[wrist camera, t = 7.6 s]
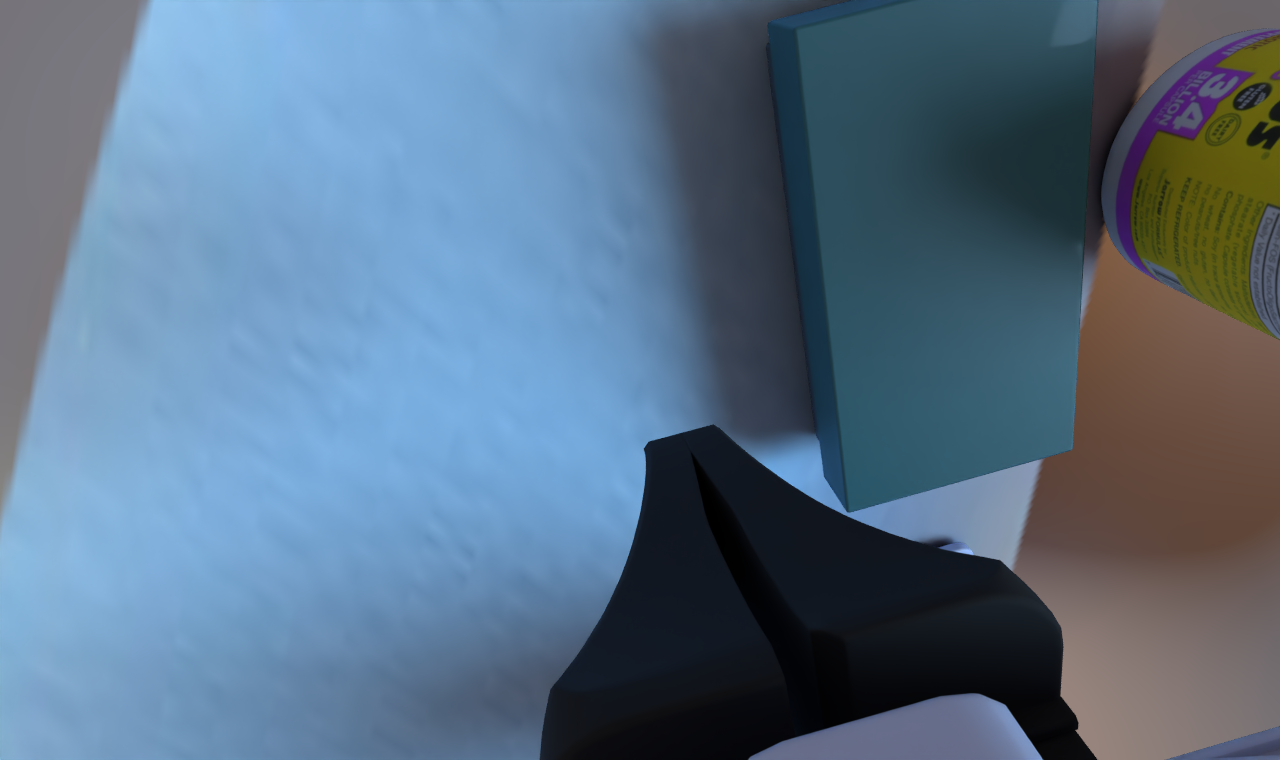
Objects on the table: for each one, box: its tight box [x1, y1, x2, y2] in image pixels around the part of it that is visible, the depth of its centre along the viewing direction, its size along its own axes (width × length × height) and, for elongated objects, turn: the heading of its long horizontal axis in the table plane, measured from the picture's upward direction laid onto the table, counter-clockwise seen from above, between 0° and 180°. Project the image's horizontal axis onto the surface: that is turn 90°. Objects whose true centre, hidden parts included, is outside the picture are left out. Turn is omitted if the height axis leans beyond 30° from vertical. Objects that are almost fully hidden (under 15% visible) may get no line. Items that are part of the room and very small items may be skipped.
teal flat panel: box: [766, 0, 1098, 512], centre depth 20 cm, size 12×6×3 cm, turn 12°
